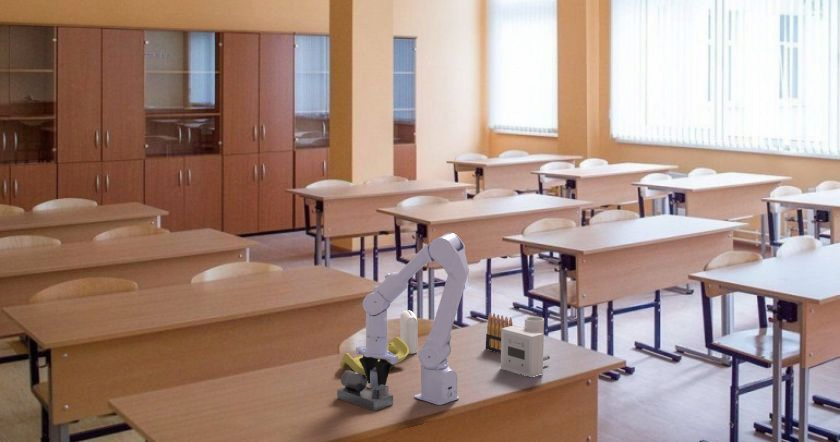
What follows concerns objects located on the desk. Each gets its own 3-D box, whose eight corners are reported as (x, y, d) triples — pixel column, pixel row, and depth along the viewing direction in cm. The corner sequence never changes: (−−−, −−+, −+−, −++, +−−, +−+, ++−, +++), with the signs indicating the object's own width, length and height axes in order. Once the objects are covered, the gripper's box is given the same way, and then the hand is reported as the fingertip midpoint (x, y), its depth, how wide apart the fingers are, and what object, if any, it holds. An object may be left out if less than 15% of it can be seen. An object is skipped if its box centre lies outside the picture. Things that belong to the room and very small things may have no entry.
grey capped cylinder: (386, 390, 269) (386, 368, 268) (376, 393, 267) (376, 371, 266) (376, 387, 272) (376, 365, 271) (367, 390, 269) (367, 368, 268)
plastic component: (363, 371, 280) (342, 349, 286) (357, 390, 284) (337, 369, 290) (415, 353, 293) (395, 333, 299) (409, 372, 297) (389, 352, 302)
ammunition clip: (485, 349, 312) (485, 312, 310) (489, 348, 313) (490, 311, 311) (510, 356, 304) (510, 318, 302) (514, 355, 305) (515, 317, 303)
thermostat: (500, 368, 291) (501, 318, 289) (532, 360, 300) (534, 311, 298) (531, 378, 282) (532, 326, 280) (563, 369, 291) (565, 319, 289)
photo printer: (398, 345, 315) (398, 307, 313) (411, 345, 316) (412, 307, 314) (405, 354, 305) (405, 315, 303) (418, 353, 306) (419, 314, 304)
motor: (393, 404, 258) (393, 378, 257) (373, 410, 253) (373, 384, 252) (354, 391, 269) (354, 367, 268) (334, 397, 264) (334, 372, 263)
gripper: (347, 333, 269) (347, 381, 271) (384, 343, 259) (384, 393, 261) (366, 328, 274) (366, 376, 276) (403, 338, 264) (403, 387, 266)
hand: (376, 384), depth 269 cm, fingers closed on grey capped cylinder, 4 cm apart
